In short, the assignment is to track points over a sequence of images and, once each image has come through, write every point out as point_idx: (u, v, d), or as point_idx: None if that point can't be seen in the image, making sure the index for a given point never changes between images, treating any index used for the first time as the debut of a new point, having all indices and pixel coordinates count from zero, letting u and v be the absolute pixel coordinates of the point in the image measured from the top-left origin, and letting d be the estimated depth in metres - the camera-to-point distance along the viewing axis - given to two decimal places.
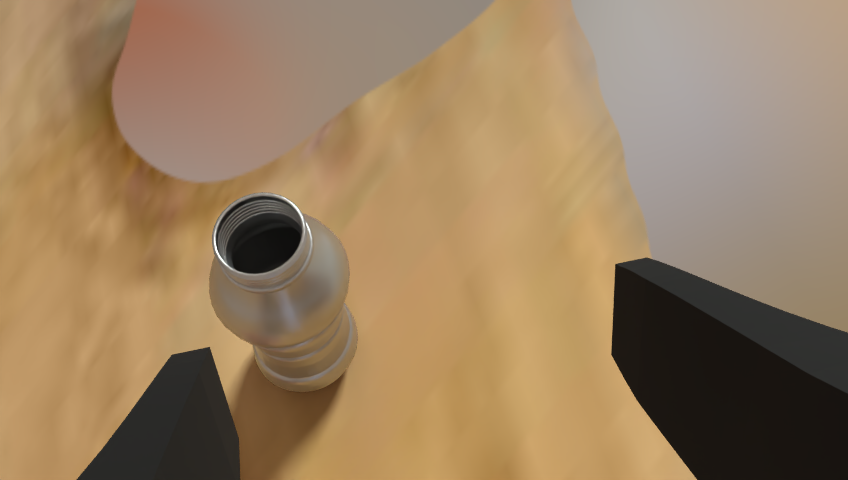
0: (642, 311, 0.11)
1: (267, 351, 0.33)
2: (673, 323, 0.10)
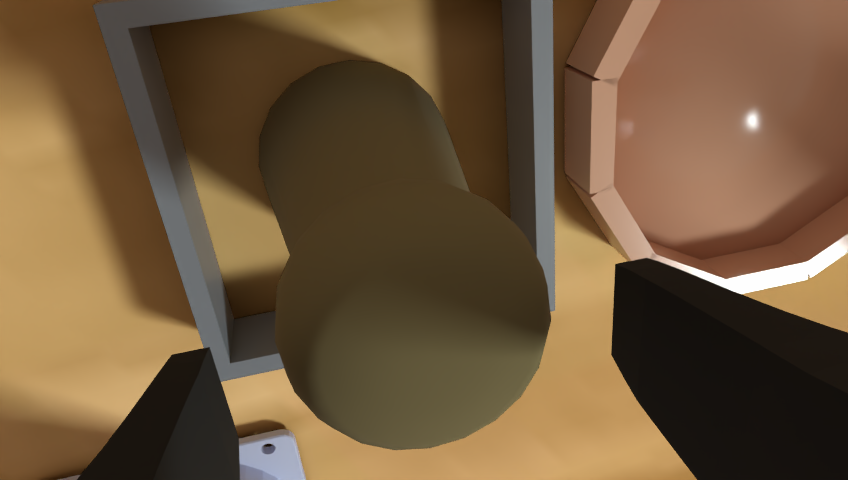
0: (642, 311, 0.11)
1: None
2: (673, 323, 0.10)
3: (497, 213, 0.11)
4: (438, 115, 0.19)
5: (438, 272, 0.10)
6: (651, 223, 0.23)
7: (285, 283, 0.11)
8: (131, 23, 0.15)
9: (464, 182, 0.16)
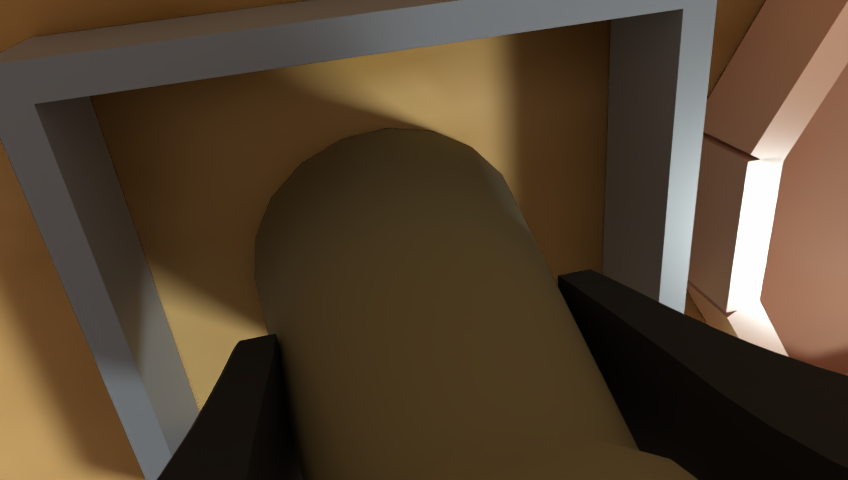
0: (581, 324, 0.11)
1: None
2: (608, 337, 0.10)
3: None
4: None
5: None
6: (786, 332, 0.17)
7: None
8: (39, 96, 0.09)
9: (591, 354, 0.09)
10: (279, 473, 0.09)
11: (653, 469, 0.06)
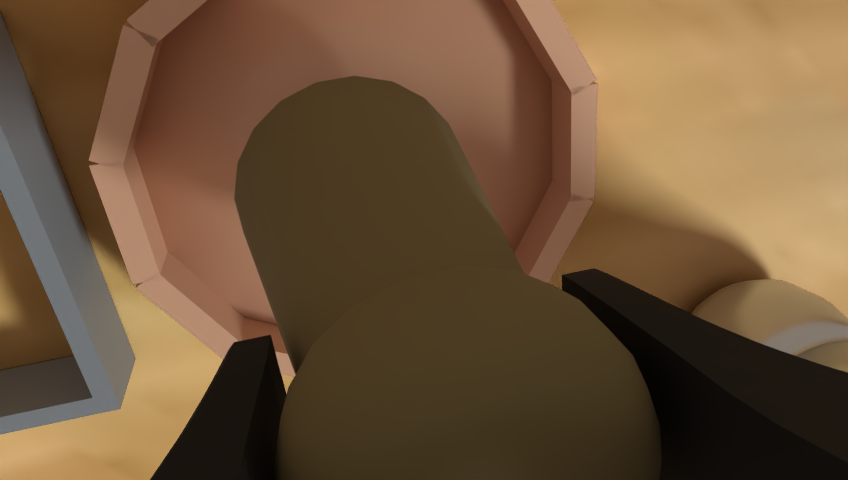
0: None
1: None
2: None
3: (603, 327, 0.08)
4: None
5: (540, 432, 0.07)
6: (262, 304, 0.21)
7: (299, 424, 0.08)
8: None
9: None
10: (273, 474, 0.09)
11: (538, 281, 0.09)
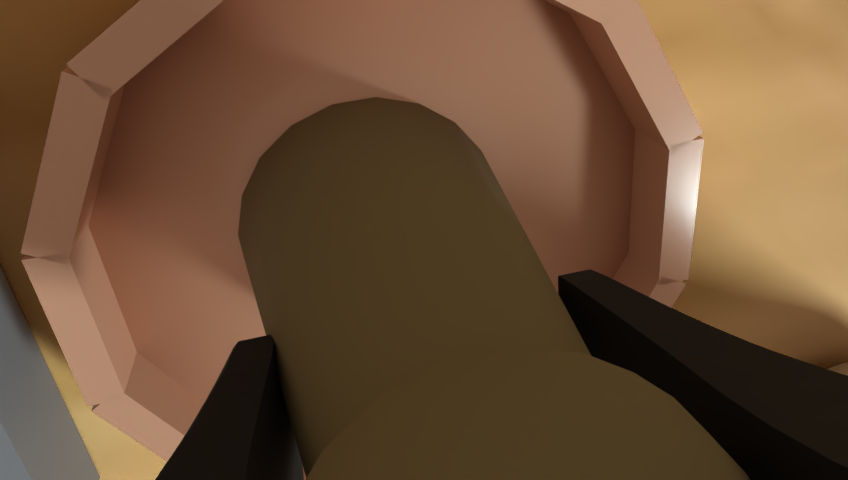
0: (582, 324, 0.11)
1: None
2: (608, 337, 0.10)
3: (713, 443, 0.06)
4: None
5: None
6: None
7: None
8: None
9: None
10: (278, 473, 0.09)
11: (618, 372, 0.07)
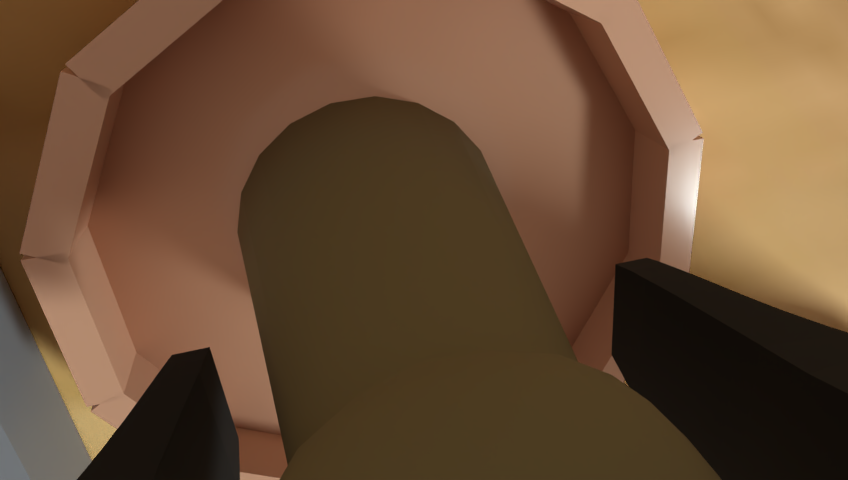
0: (642, 311, 0.11)
1: None
2: (673, 323, 0.10)
3: (685, 448, 0.06)
4: None
5: None
6: (260, 411, 0.17)
7: None
8: None
9: None
10: None
11: (594, 375, 0.07)
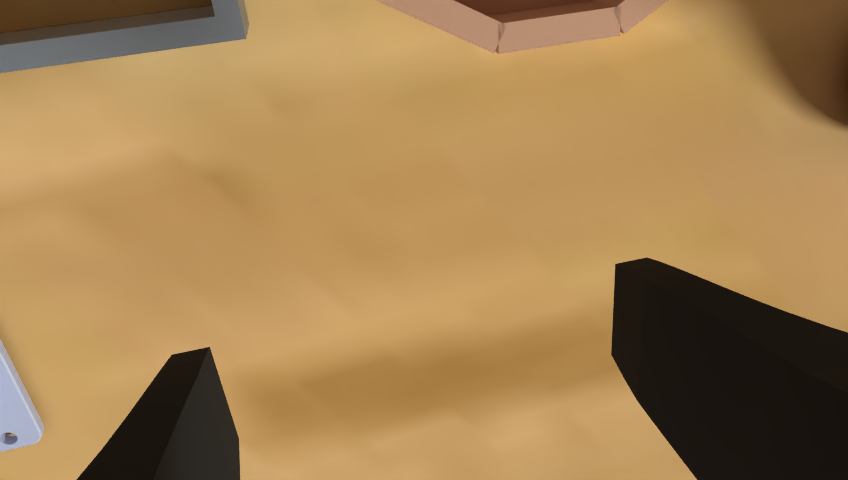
0: (642, 311, 0.11)
1: None
2: (673, 323, 0.10)
3: None
4: None
5: None
6: None
7: None
8: None
9: None
10: None
11: None
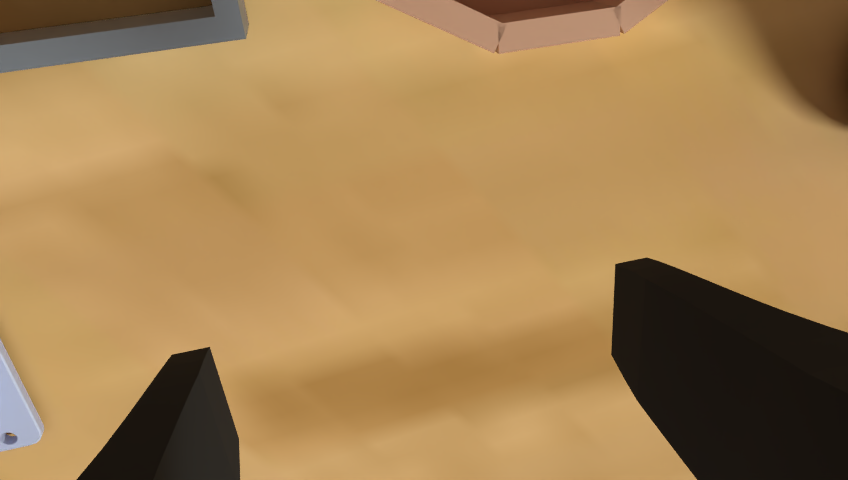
0: (642, 311, 0.11)
1: None
2: (673, 323, 0.10)
3: None
4: None
5: None
6: None
7: None
8: None
9: None
10: None
11: None
